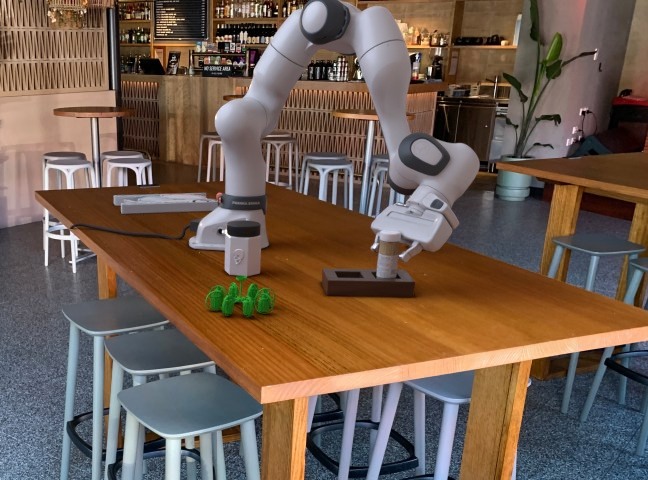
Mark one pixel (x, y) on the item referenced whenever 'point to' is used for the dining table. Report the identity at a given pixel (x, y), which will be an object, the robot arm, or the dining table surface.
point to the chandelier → (240, 299)
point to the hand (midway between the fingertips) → (387, 255)
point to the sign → (165, 203)
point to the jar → (243, 248)
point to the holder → (366, 283)
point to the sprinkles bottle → (388, 254)
